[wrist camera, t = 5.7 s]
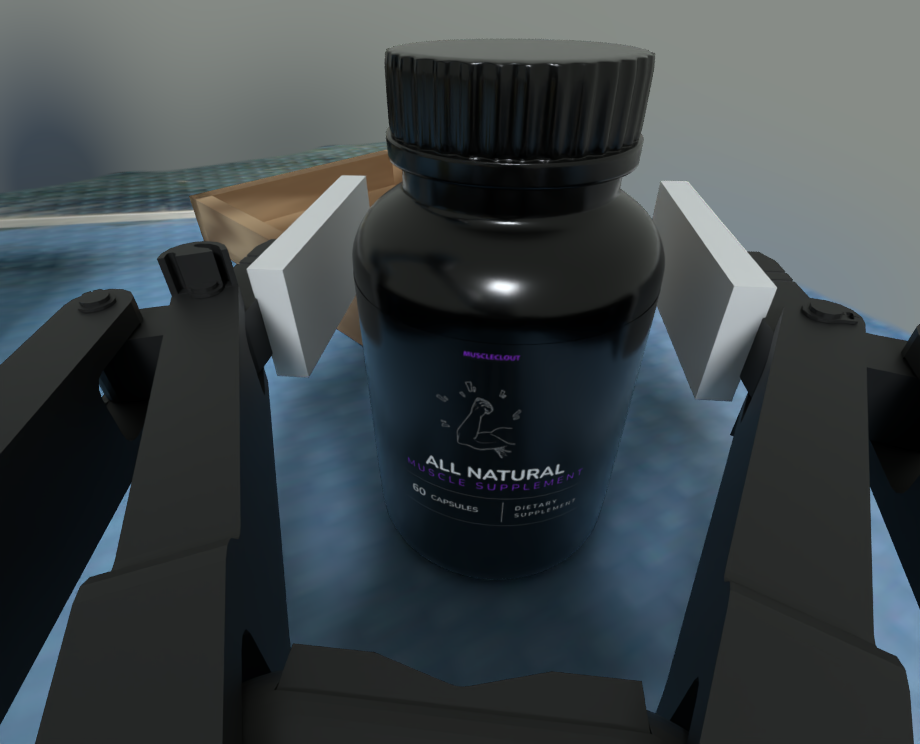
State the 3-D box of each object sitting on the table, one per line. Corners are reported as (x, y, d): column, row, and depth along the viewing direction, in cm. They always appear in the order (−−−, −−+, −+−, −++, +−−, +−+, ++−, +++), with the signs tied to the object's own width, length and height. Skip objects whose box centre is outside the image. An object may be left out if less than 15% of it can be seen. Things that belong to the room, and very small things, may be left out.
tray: (204, 242, 33) (189, 196, 31) (396, 186, 42) (393, 148, 40) (401, 371, 21) (395, 308, 20) (608, 256, 30) (617, 206, 28)
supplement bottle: (452, 640, 12) (426, 83, 5) (353, 463, 17) (269, 43, 10) (652, 521, 15) (814, 46, 8) (518, 396, 20) (545, 28, 13)
